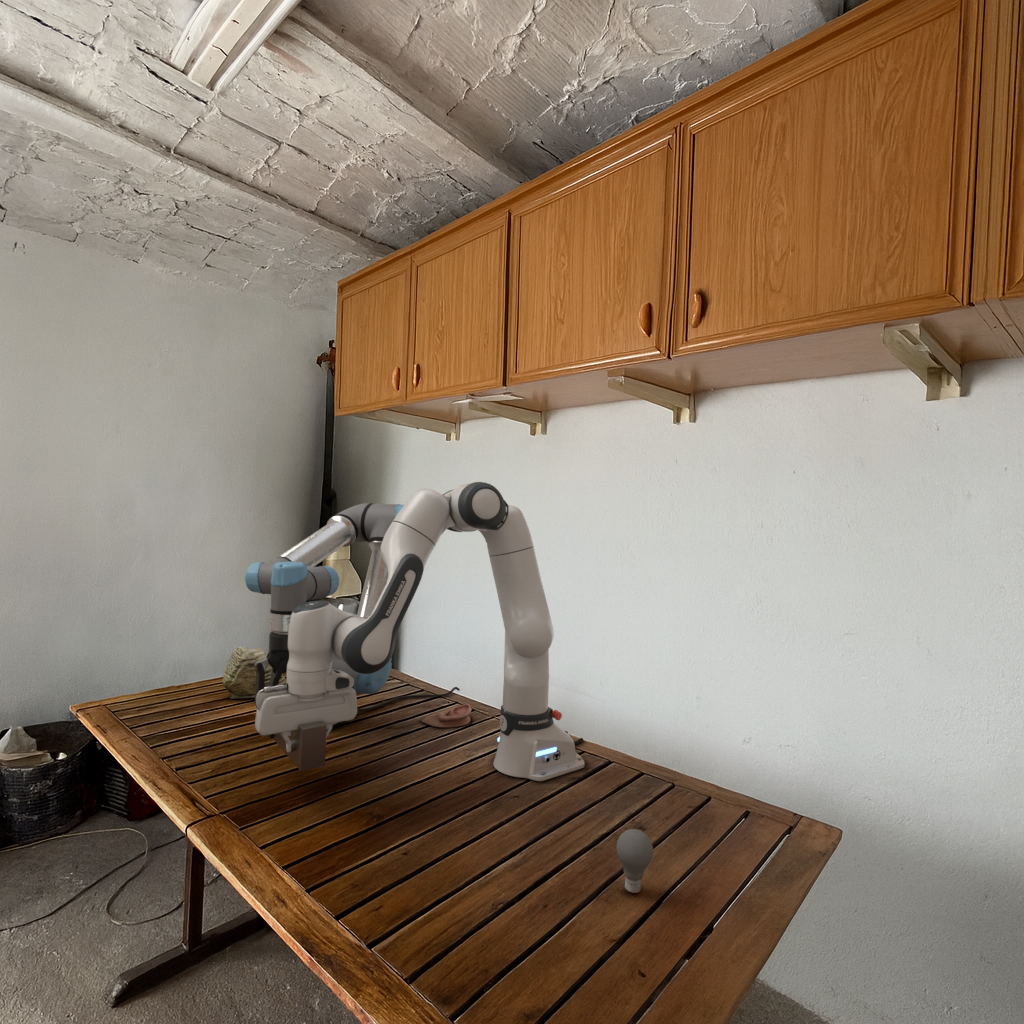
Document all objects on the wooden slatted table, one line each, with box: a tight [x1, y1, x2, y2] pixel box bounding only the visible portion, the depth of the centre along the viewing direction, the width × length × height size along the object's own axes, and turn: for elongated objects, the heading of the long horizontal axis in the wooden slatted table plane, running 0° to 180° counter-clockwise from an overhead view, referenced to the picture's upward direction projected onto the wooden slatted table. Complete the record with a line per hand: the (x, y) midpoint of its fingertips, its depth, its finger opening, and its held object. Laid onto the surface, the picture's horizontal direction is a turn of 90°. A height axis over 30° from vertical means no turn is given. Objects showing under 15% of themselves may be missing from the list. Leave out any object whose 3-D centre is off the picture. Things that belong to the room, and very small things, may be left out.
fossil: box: [222, 646, 286, 699], centre depth 198 cm, size 9×18×15 cm, turn 132°
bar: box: [272, 721, 327, 772], centre depth 136 cm, size 24×5×8 cm, turn 36°
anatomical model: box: [421, 703, 472, 728], centre depth 182 cm, size 13×4×12 cm
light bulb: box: [615, 828, 654, 894], centre depth 106 cm, size 6×6×10 cm
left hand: (283, 733), depth 143 cm, fingers closed on bar, 5 cm apart
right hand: (306, 747), depth 130 cm, fingers closed on bar, 5 cm apart
